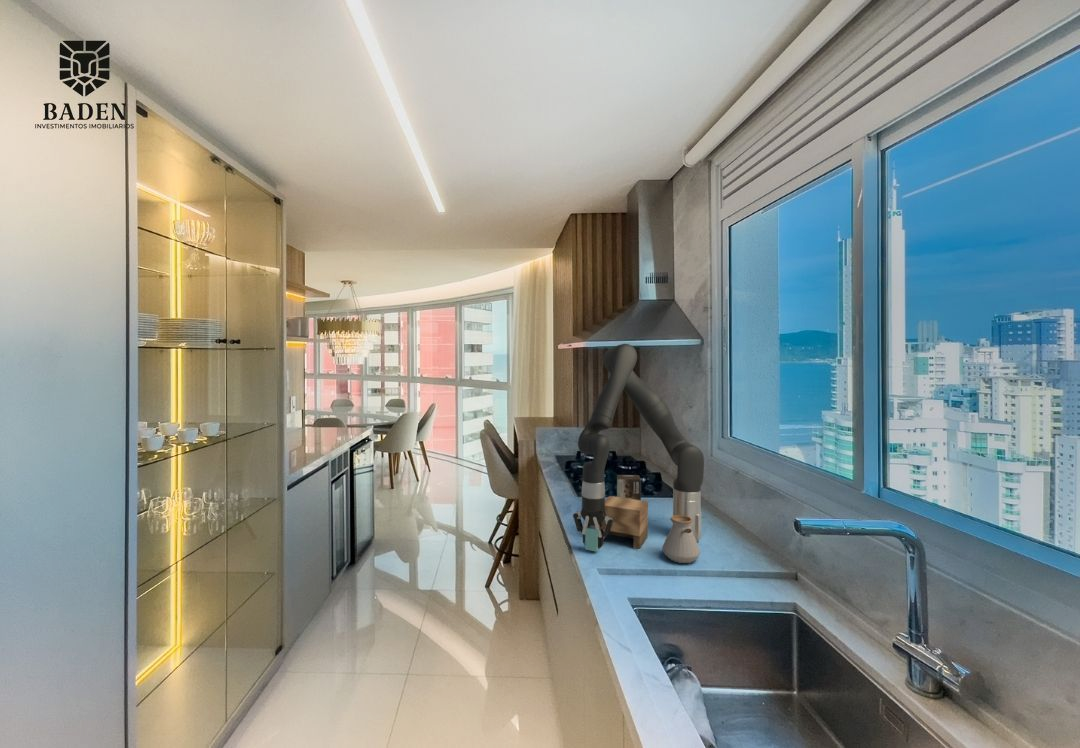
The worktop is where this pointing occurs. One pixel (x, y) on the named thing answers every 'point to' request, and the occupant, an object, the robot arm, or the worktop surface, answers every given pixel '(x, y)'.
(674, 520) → the coffee pot
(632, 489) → the coffee box
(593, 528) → the sage green eraser
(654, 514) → the worktop surface
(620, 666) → the worktop surface
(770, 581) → the worktop surface
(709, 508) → the worktop surface
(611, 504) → the cabinet
